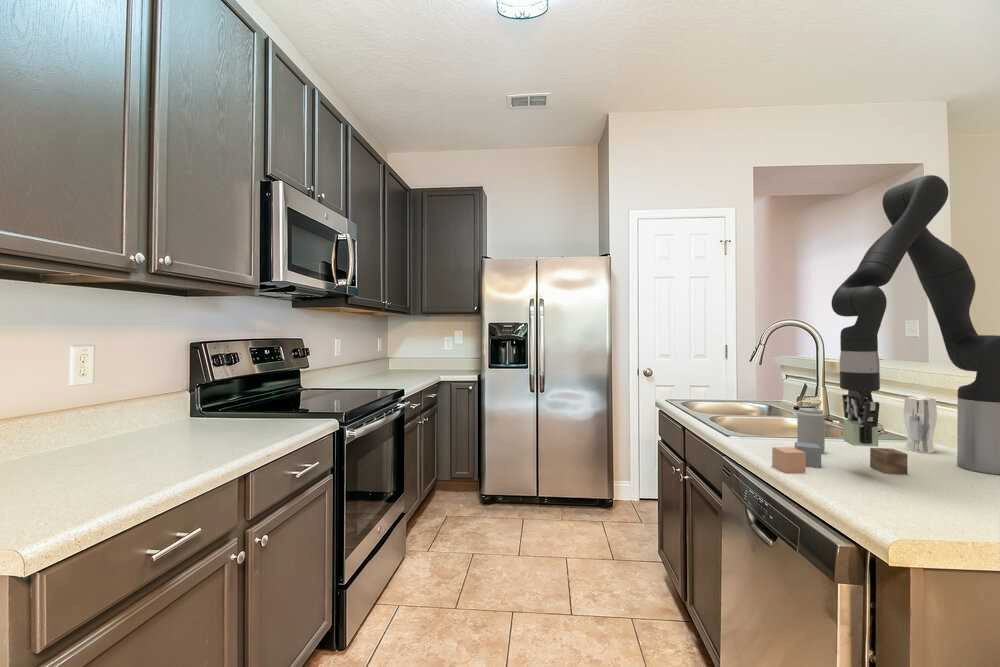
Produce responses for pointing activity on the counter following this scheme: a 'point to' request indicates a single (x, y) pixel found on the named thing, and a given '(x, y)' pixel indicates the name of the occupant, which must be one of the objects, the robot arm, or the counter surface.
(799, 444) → the slate cube
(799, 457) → the terracotta cube
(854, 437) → the sage cube
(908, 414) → the beer glass
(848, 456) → the counter surface
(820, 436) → the beverage can
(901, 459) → the walnut cube
